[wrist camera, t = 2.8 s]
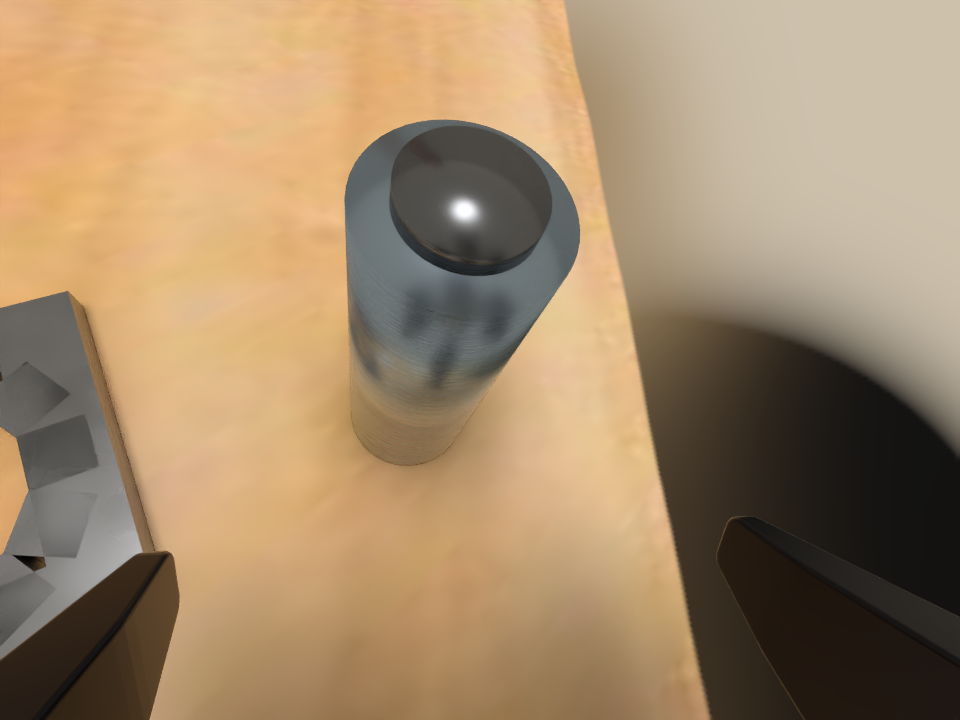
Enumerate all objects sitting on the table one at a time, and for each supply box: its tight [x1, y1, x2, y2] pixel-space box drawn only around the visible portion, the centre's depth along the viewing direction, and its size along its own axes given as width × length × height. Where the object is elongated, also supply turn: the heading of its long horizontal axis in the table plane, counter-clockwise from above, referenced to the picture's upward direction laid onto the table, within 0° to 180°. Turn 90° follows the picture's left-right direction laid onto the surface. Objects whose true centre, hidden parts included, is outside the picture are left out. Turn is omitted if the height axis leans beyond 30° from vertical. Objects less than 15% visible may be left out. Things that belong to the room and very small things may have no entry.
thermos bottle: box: [345, 120, 580, 465], centre depth 15 cm, size 5×5×14 cm
